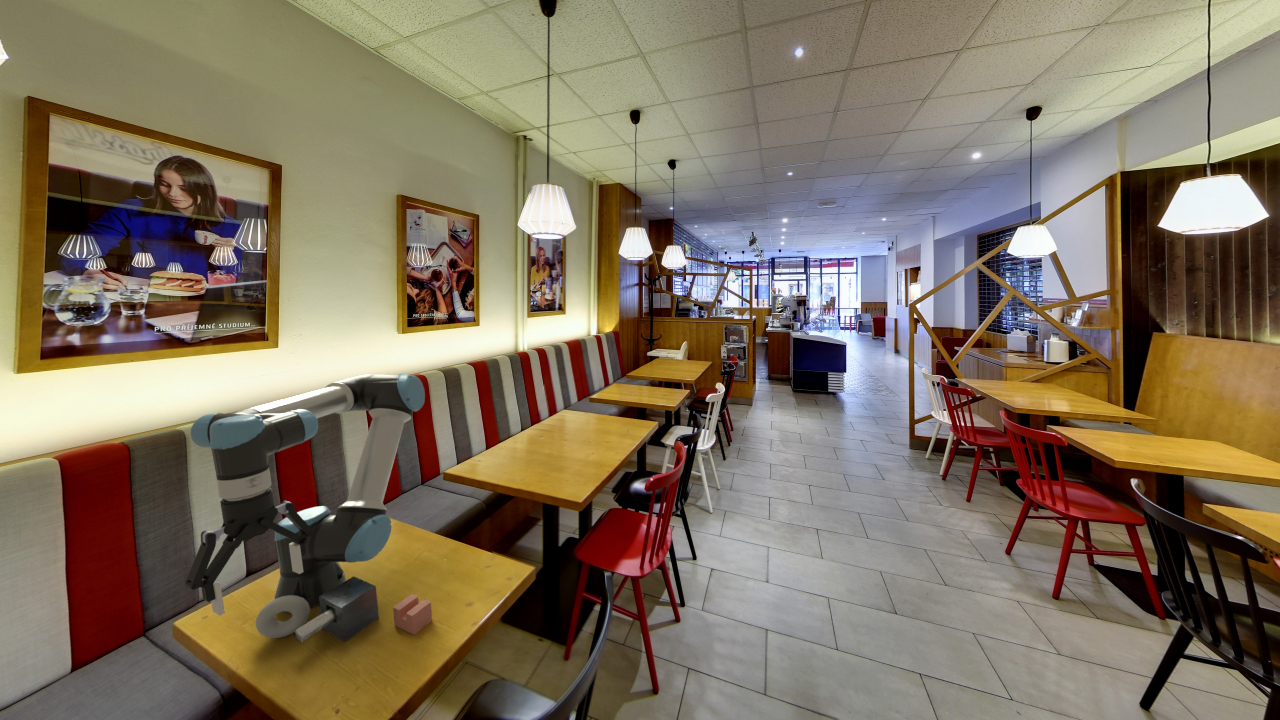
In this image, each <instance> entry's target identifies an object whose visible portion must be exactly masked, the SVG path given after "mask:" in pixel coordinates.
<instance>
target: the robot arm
mask: <svg viewBox="0 0 1280 720" xmlns="http://www.w3.org/2000/svg"><path fill="white" fill-rule="evenodd" d="M425 398H426V393H425V387H424V385H423V382H422V381H421V379H420V378H419V377H417V375H414V374H405V373H399V374H397V373H396V374H395V373H394V374H390V373H387V374H386V373H385V374H381V373H380V374H377V373H375V374H373V373H369V374H363V375H362V374H361V375H358V376H354V377H350V378H345V379H342V380H338V381H334V382H331V383H329V384H327V385H326V386H325V387H324V388H321V389H317V390H313V391H310V392H309V391H308V392H305V393H302V394H299V395H294V396H292V397H287V398H284V399H283V398H282V399H279V400H275V401H272V402H268V403H265V404H260V405H256V406H253V407H249V408H245V409H241V410H236V411H232V412H226V413H223V412H217V413H210V414H205V415H202V416H200V417H199V418H197V419H196V420H195V422H193V424H192V426H191V428H190V437H191V440H192V441H193V443H194V444H195V445H197V446H199V447H201V448H210V449H211V454H212V460H213V465H214V470H215V475H216V476H215V477H216V482H217V490H218V497H219V499H220V502H219V504H220V509H221V515H222V520H223V523H222V525H221V527H219V528H215V529H212V530H209V529H206V530H203V531H201V532H200V545H199V548H198V551H197V553H196V555H195V557H194V561H193V563H192V565H191V568H190V570H189V573H188V574H187V578H186V579H185V582H184V586H185V587H187V588H188V589H191V590H195V591H196V590H197V589H199V588H201V589H200V590H201V595H202V599H203V600H204V601H205V602H207V603H211V609H212V613H214V614H216V615H217V616H222V615H224V614H226V611H225V610H226V609H225V605H224V598H223V592H222V587H221V582H220V581H219V580H217V579H218V577H219V576H220V575H221V573H222V572H223V569H224V568H225V566H226V564H227V563H228V561H230V559H231V557H232V555H233V554H234V552H235V551H236V549H238V548H239V547H240V546H241V545H242V543H243V542H244V541H245V542H248V541H250V540H251V539H253V538H255V537H257V536H261V535H264V534H266V532H267V531H268V530H270V531H273V532H274V539H273V541H274V546H275V550H276V555H277V563H278V567H279V574H280V577H279V580H278V583H277V586H276V591H275V593H274V599H277V598H279V597H282V596H288V595H294V596H299V597H302V598H304V599H305V600H306V601H307V602H308V604H309V607H310V609H312V608H315V607H316V606H318V605H319V606H320V602H319V596H321V595H322V594H324V593H326V592H328V591H329V590H331V589H333V588H334V587H336V586H338V585H340V584H341V583H343V582H345V581H346V575H345V571H344V569H343V568H342V567H341V566H342V565H340V563H360V562H368V561H371V560H372V559H374V558H375V557H376V556H378V554H379V553H381V552H382V551H383V549H384V548H385V546H386V545H387V543H388V541H389V538H390V535H391V532H392V525H391V524H392V520H391V518H390V517H389V516H388V515H386V514H387V510H388V508H387V507H386V506H385V505H384V503H383V502H384V499H385V494H386V492H387V487H388V483H389V481H390V477H391V473H392V469H393V465H394V463H395V459H396V454H397V452H398V449H399V444H400V442H401V441H400V440H401V436H402V433H403V430H404V427H405V424H406V423H407V422H409V421H410V420H411V419H412V417H413V414H414V413H413V412H418V411H420V410H421V409H422V408H423V406H424V404H425ZM356 411H357V412H358V411H368V414H369V415H370V417H371V418H372V420H371V423H370V426H369V429H368V433H367V436H366V439H365V442H364V445H363V448H362V451H361V455H360V458H359V462H358V465H357V468H356V471H355V473H354V478H353V480H352V484H351V486H350V490H349V493H348V496H347V499H346V501H345V502H344V503H341V504H340V505H338V507H337V510H336V514H331V510H330V509H329V508H330V507H328V506H325V505H321V506H320V505H319V506H313V507H309V508H306V509H303V510H299V511H296V507H295V504H294V503H293V502H291V501H287V500H283V501H282V502H281V503H280V505H279V504H278V505H277V506H276V505H275V499H274V491H273V488H272V487H271V486H272V478H271V476H272V475H271V472H270V463H269V462H270V461H269V459H270V458H269V456H271V455H274V454H275V453H278V452H280V451H284V450H287V449H289V448H291V447H294V446H296V445H301V444H303V443H304V442H306V441H308V440H311V439H312V438H314V436H316V434H317V433H318V431H319V421H318V420H319V418H322V417H325V416H328V415H331V414H338V415H339V414H345V413H348V412H356ZM278 513H280V514H282V515H284V516H285V518H283V519H282V520H280V521H279V522H278V523H277V522H274V521H275V519H276V517H277V516H278ZM223 534H225V535H226V536H225V538H224V540H223V542H222V545H221V547H220V548H219V550H218V552H217V553H216V555H214V558H213V559H212V556H213V554H214V551H215V548H216V545H217V542H218V541H220V538H221V536H222V535H223ZM211 559H212V560H211ZM210 561H211V562H210ZM283 613H288V612H287V611H284V612H283Z"/></svg>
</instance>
